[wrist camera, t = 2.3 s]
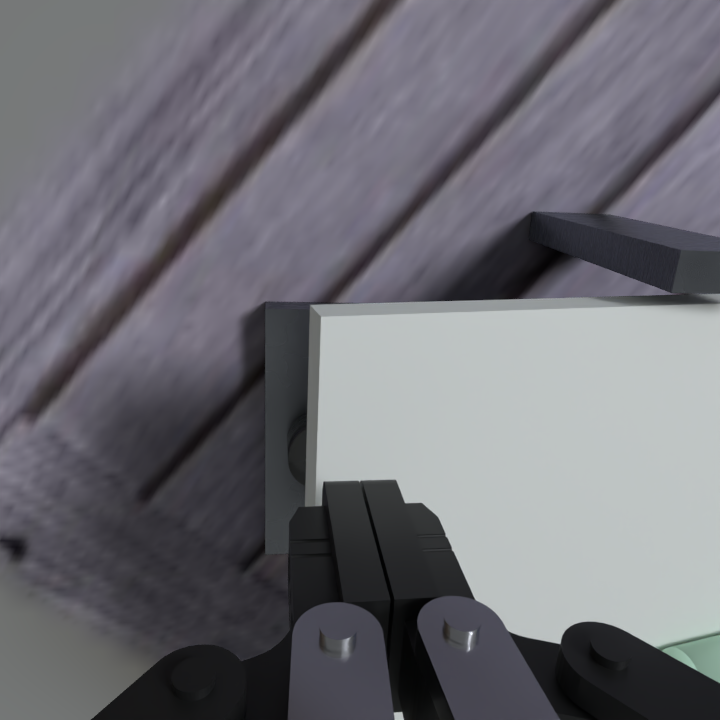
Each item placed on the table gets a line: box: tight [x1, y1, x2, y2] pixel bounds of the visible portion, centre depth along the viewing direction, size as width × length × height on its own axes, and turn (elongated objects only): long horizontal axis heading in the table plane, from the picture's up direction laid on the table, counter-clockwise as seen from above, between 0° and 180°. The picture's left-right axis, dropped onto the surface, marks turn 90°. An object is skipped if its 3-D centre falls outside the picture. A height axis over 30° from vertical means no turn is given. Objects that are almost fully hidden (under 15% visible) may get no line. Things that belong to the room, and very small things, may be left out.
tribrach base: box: [265, 212, 720, 555], centre depth 21 cm, size 22×17×8 cm
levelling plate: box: [305, 294, 720, 720], centre depth 18 cm, size 20×14×3 cm
